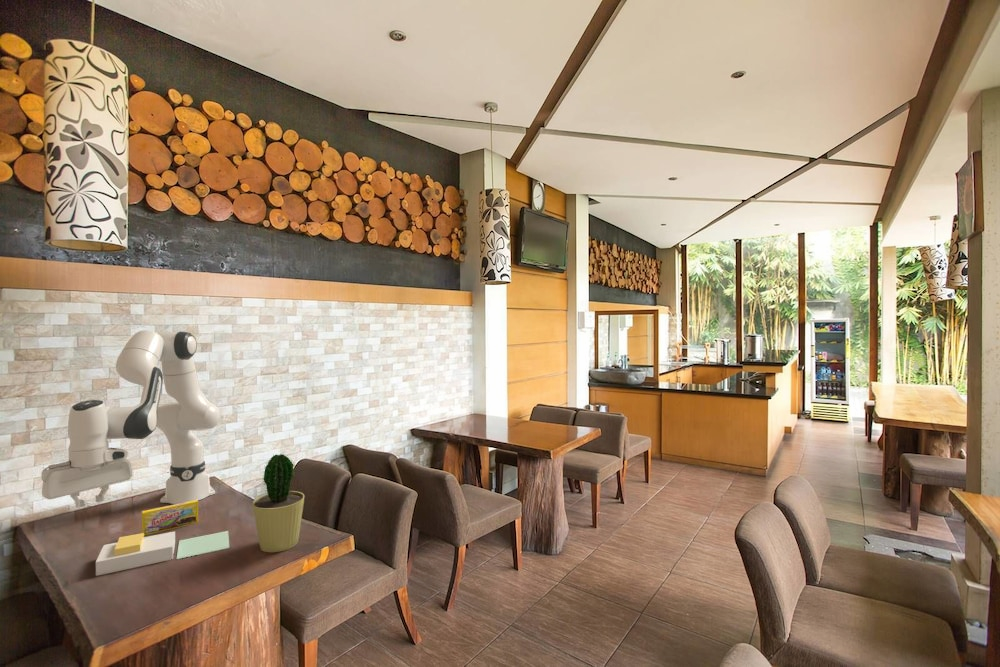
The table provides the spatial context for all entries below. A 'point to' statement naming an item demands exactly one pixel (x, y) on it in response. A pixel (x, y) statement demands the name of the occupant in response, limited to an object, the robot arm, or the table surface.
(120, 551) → the block
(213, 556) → the table surface
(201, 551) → the mat
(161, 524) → the candy box
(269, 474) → the potted cactus
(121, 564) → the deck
